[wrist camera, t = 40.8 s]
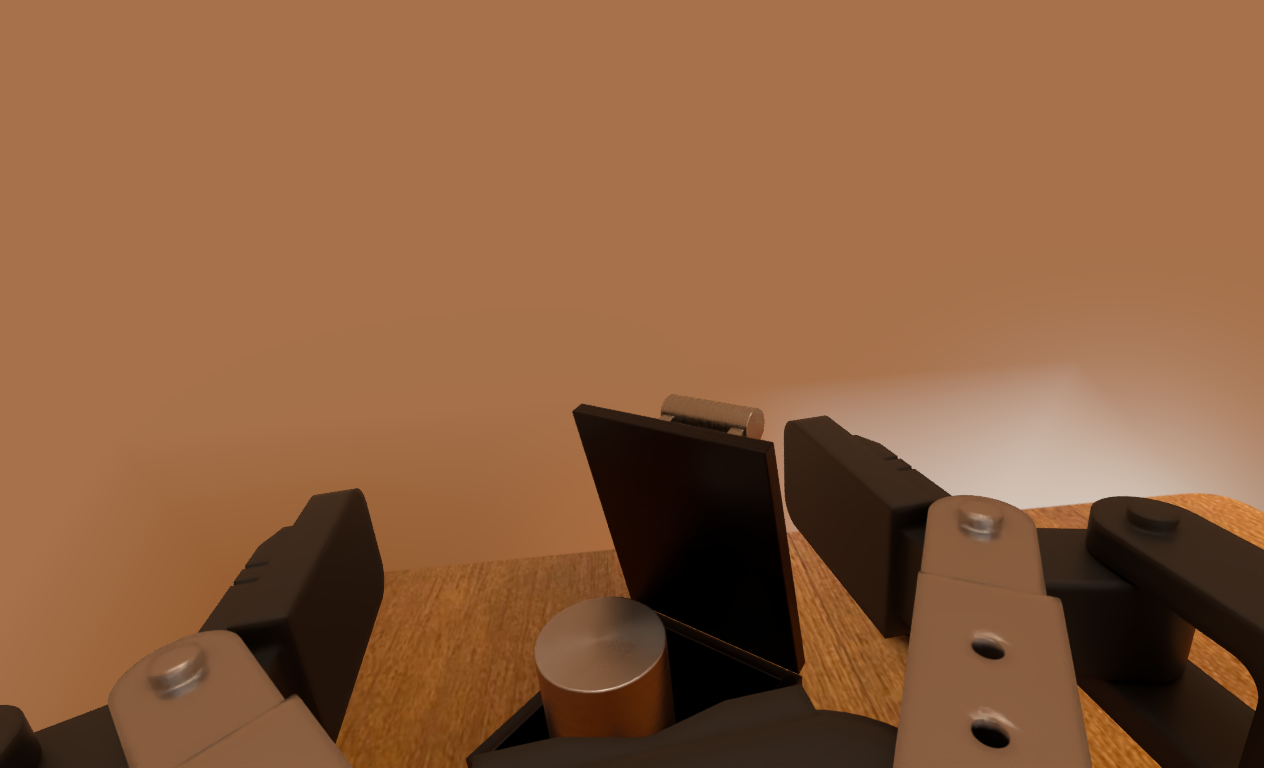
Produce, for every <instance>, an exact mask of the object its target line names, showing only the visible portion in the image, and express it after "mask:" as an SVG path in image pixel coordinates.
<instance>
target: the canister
mask: <svg viewBox="0 0 1264 768" xmlns="http://www.w3.org/2000/svg"><path fill="white" fill-rule="evenodd" d="M534 659H535V664H536V669H537V674H538V680H539V685H540V690H541V695H542V700H543V706H544V711H545V716H546V721H547V727H548V732H549V737H550V739H551V738H555V737H631V738H639V737H647V736H651V735H653V734H656V733H658V732H660V731H662V730H664V729H666V728H669V727H671V726H673V725H675V724H676V722H675V712H674V703H673V693H672V683H671V674H670V664H669V654H668V645H667V635H666V629H665V626H664V624H663V622H662V620H661V618H660V617H659V616H658V615H657V613H656V612H654V611H653V610H652V609H651V608H650V607H648V606H647V605H645V604H643V603H641V602H638V601H636V600H632V599H628V598H623V597H599V598H593V599H588V600H585V601H581V602H579V603H576V604H574V605H571V606H569V607H567V608H566V609H564V610H562V611H561V612H559V613H558V614H556V615H555V616H554V617H553V618H552V619H550V620H549V621H548V623H547V624H546V625H545V626H544V627H543V629H542V630H541V632H540V634H539V636H538V638H537V641H536V643H535V649H534Z"/></svg>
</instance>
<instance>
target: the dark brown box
mask: <svg viewBox="0 0 1264 768" xmlns="http://www.w3.org/2000/svg"><path fill="white" fill-rule="evenodd" d="M654 612H655V611H654ZM656 613H657V612H656ZM657 615H658V616H659V617H660V618H661V620H662V622H663V624H664V626H665V629H666V635H667V645H668V654H669V664H670V674H671V683H672V693H673V703H674V712H675V722H676V724H677V723H679V722H681V721H683V720H685V719H687V718H689V717H692V716H694V715H696V714H698V713H700V712H702V711H704V710H706V709H708V708H710V707H712V706H714V705H717V704H719V703H721V702H723V701H725V700H730V699H734V698H739V697H743V696H748V695H753V694H757V693H762V692H766V691H771V690H776V689H780V688H785V687H789V686H794V685H798V684H801V685H802V676H800V675H798V674H796V673H793V672H791V671H789V670H786V669H784V668H781V667H779V666H777V665H775V664H772V663H770V662H768V661H766V660H763V659H761V658H759V657H757V656H754V655H752V654H750V653H747V652H745V651H743V650H741V649H738V648H736V647H734V646H732V645H729V644H727V643H725V642H723V641H720V640H718V639H716V638H714V637H711V636H709V635H707V634H705V633H702V632H700V631H698V630H696V629H693V628H691V627H689V626H687V625H684V624H682V623H680V622H678V621H675V620H673V619H671V618H669V617H666V616H664V615H662V614H659V613H657ZM546 739H550V737H549V732H548V727H547V721H546V716H545V711H544V706H543V700H542V695H541V690H540V691H539V692H538V693H537V694H536V695H535V696H534V697H533V698H532V699H530V700H529V701H528V702H527V703H526V704H525V705H524V706H523V707H522V708H521V709H520V710H518V711H517V712H516V713H515V714H514V715H513V716H512V717H511V718H510V719H509V720H508V721H506V722H505V723H504V724H503V725H502V726H501V727H500V728H499V729H498V730H497V731H496V732H494V733H493V734H492V735H491V736H490V737H489V738H488V739H487V740H486V741H485V742H484V743H482V744H481V745H480V746H479V747H478V748H477V749H476V750H475V751H474V752H473V753H471V754H470V755H469V756H468V757H467V758H466V762H467V766H468V768H472V762H473V755H477V754H482V753H487V752H491V751H496V750H500V749H505V748H510V747H514V746H519V745H523V744H528V743H532V742H537V741H542V740H546Z"/></svg>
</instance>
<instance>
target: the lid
mask: <svg viewBox="0 0 1264 768" xmlns="http://www.w3.org/2000/svg"><path fill="white" fill-rule="evenodd" d="M572 413H573V416H574V419H575V422H576V425H577V428H578V432H579V435H580V438H581V441H582V445H583V448H584V451H585V454H586V457H587V460H588V464H589V467H590V470H591V473H592V476H593V479H594V483H595V486H596V489H597V492H598V495H599V499H600V502H601V505H602V508H603V511H604V514H605V517H606V521H607V524H608V527H609V530H610V533H611V536H612V540H613V543H614V546H615V549H616V553H617V556H618V559H619V562H620V565H621V568H622V572H623V575H624V578H625V581H626V584H627V587H628V591H629V594H630V597H631V599H632V600H636V601H638V602H641V603H643V604H645V605H647V606H648V607H650V608H651V609H652V610H654V611H656V612H659V613H661V614H663V615H665V616H668V617H670V618H672V619H674V620H677V621H679V622H681V623H684V624H686V625H688V626H690V627H693V628H695V629H697V630H699V631H702V632H704V633H706V634H708V635H711V636H713V637H715V638H717V639H720V640H722V641H724V642H726V643H729V644H731V645H733V646H736V647H738V648H740V649H742V650H745V651H747V652H749V653H751V654H754V655H756V656H758V657H760V658H763V659H765V660H767V661H769V662H772V663H774V664H776V665H778V666H781V667H783V668H785V669H788V670H790V671H792V672H794V673H797V674H799V673H800V671H801V669H802V667H803V666H804V664H805V658H804V651H803V644H802V637H801V630H800V623H799V616H798V609H797V602H796V595H795V588H794V581H793V574H792V567H791V561H790V554H789V547H788V540H787V533H786V526H785V519H784V512H783V505H782V498H781V491H780V484H779V477H778V470H777V463H776V456H775V449H774V443H773V442H769V441H764V440H760V439H761V436H762V433H763V430H764V415H763V412H762V411H761V410H760V409H758V408H752V407H746V406H740V405H735V404H729V403H722V402H716V401H711V400H705V399H699V398H693V397H687V396H681V395H675V394H672V395H669V396H668V397H667V398H666V399H665V401H664V403H663V405H662V409H661V417H660V418H659V419H656V418H651V417H646V416H641V415H636V414H631V413H626V412H621V411H616V410H611V409H606V408H601V407H596V406H591V405H586V404H581V405H579V406H578V407H577V408H576V409H574V410H573V412H572Z"/></svg>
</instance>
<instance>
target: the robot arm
mask: <svg viewBox="0 0 1264 768" xmlns="http://www.w3.org/2000/svg"><path fill="white" fill-rule="evenodd" d="M784 481H785V482H784V486H785V501H786V506H787V509H788V513H789V515H790V518H791V520H792V522H793V524H794V525H795V526H796V528H797V529H798V530H799V531H800V533H801V534H802V535H803V536H804V538H805V539H806V540H807V541H808V543H809V544H810V545H811V546H812V548H813V549H814V550H815V551H816V553H817V554H818V555H819V556H820V558H821V559H822V560H823V561H824V563H825V564H826V565H827V566H828V568H829V569H830V570H831V571H832V573H833V574H834V575H835V576H836V578H837V579H838V580H839V581H840V583H841V584H842V585H843V586H844V588H845V589H846V590H847V591H848V593H849V594H850V595H851V596H852V598H853V599H854V600H855V601H856V603H857V604H858V605H859V606H860V608H861V609H862V610H863V611H864V613H865V614H866V615H867V616H868V618H869V619H870V620H871V621H872V623H873V624H874V625H875V626H876V628H877V629H878V630H879V631H880V633H881V634H882V635H883V636H884V638H885V639H886V638H891V637H895V636H900V635H905V634H910V641H909V648H908V656H907V664H906V671H905V679H904V687H903V694H902V702H901V710H900V718H899V725H898V728H896V727H894V726H892V725H889V724H887V723H884V722H881V721H878V720H875V719H872V718H868V717H865V716H861V715H856V714H851V713H847V712H839V711H831V710H815V708H814V706H813V704H812V702H811V701H810V699H809V697H808V695H807V694H806V692H805V690H804V688H803V686H802V685H801V684H798V685H794V686H789V687H785V688H780V689H776V690H771V691H766V692H762V693H757V694H753V695H748V696H743V697H739V698H734V699H730V700H725V701H723V702H721V703H719V704H717V705H714V706H712V707H710V708H708V709H706V710H704V711H702V712H700V713H698V714H696V715H694V716H692V717H689V718H687V719H685V720H683V721H681V722H679V723H677V724H675V725H673V726H671V727H669V728H666V729H664V730H662V731H660V732H658V733H656V734H653V735H651V736H647V737H639V738H631V737H555V738H551V739H546V740H542V741H537V742H532V743H528V744H523V745H519V746H514V747H510V748H505V749H500V750H496V751H491V752H487V753H482V754H477V755H473V762H472V768H1092V763H1091V757H1090V752H1089V747H1088V741H1087V736H1086V730H1085V725H1084V720H1083V714H1082V709H1081V703H1080V698H1079V693H1078V687H1077V685H1078V686H1079V687H1080V688H1081V689H1082V690H1083V691H1084V692H1085V693H1086V694H1087V695H1088V696H1089V697H1090V698H1092V699H1093V700H1094V701H1095V702H1096V703H1097V704H1098V705H1099V706H1100V707H1101V708H1102V709H1103V710H1104V711H1105V712H1106V713H1107V714H1108V715H1109V716H1110V717H1111V718H1112V719H1113V720H1114V721H1115V722H1116V723H1117V724H1118V725H1119V726H1120V727H1121V728H1122V729H1123V730H1124V731H1125V732H1126V733H1127V734H1128V735H1129V736H1130V737H1131V738H1132V739H1133V740H1134V741H1135V742H1136V743H1137V744H1138V745H1139V746H1140V747H1141V748H1142V749H1143V750H1145V751H1146V752H1147V753H1148V754H1149V755H1150V756H1151V757H1152V758H1153V759H1154V760H1155V761H1156V762H1157V763H1158V764H1159V765H1160V766H1161V767H1162V768H1264V550H1263V549H1261V548H1259V547H1257V546H1255V545H1254V544H1252V543H1250V542H1248V541H1246V540H1244V539H1242V538H1240V537H1238V536H1237V535H1235V534H1233V533H1231V532H1229V531H1227V530H1225V529H1223V528H1222V527H1220V526H1218V525H1216V524H1214V523H1212V522H1210V521H1208V520H1206V519H1205V518H1203V517H1201V516H1199V515H1197V514H1195V513H1193V512H1191V511H1189V510H1186V509H1184V508H1181V507H1179V506H1176V505H1172V504H1169V503H1166V502H1162V501H1158V500H1153V499H1148V498H1140V497H1128V496H1117V497H1108V498H1104V499H1101V500H1098V501H1096V502H1095V503H1093V505H1092V506H1091V510H1090V516H1089V521H1088V527H1087V529H1058V528H1036V526H1035V523H1034V521H1033V520H1032V519H1031V518H1030V517H1029V516H1028V515H1027V514H1026V513H1025V512H1023V511H1022V510H1020V509H1018V508H1016V507H1015V506H1012V505H1010V504H1008V503H1005V502H1002V501H999V500H996V499H991V498H987V497H981V496H972V495H958V496H951V495H950V494H949V493H947V492H946V491H944V490H943V489H942V488H940V487H939V486H938V485H936V484H935V483H934V482H932V481H931V480H929V479H928V478H927V477H925V476H924V475H923V474H921V473H920V472H918V471H917V470H916V469H912V468H911V466H910V465H909V464H907V463H906V462H905V461H903V460H902V459H898V457H897V456H896V455H895V454H894V453H892V452H891V451H889V450H888V449H887V448H886V447H884V446H883V445H881V444H880V443H877V442H874V441H871V440H869V439H866V438H863V437H861V436H858V435H851V434H850V433H849V432H848V431H846V430H845V429H844V428H842V427H841V426H840V425H838V424H837V423H836V422H834V421H833V420H832V419H831V418H829V417H828V416H819V417H812V418H807V419H800V420H793V421H789V422H787V424H786V426H785V430H784ZM383 593H384V571H383V564H382V560H381V556H380V553H379V549H378V545H377V541H376V537H375V533H374V530H373V526H372V522H371V518H370V514H369V511H368V507H367V503H366V500H365V497H364V495H363V493H362V491H361V490H360V489H358V488H356V489H350V490H343V491H337V492H331V493H325V494H318V495H314V496H312V497H311V499H310V500H309V502H308V503H307V505H306V506H305V508H304V509H303V511H302V512H301V514H300V515H299V517H298V519H297V520H296V522H295V523H294V525H293V526H289V527H284V528H282V529H281V530H280V531H278V532H277V533H276V534H274V535H273V536H272V537H270V538H269V539H268V540H266V541H265V542H264V543H262V544H261V545H260V546H259V547H258V548H257V550H256V551H255V553H254V554H253V555H252V557H251V558H250V560H249V561H248V562H247V564H246V565H245V569H243V570H242V571H241V572H240V574H239V575H238V577H237V578H236V579H235V581H234V586H231V587H230V588H229V589H228V591H227V592H226V594H225V595H224V596H223V598H222V599H221V601H220V602H219V604H218V605H217V606H216V608H215V609H214V611H213V612H212V613H211V615H210V616H209V618H208V619H207V621H206V622H205V623H204V625H203V626H202V628H201V629H200V630H199V632H198V633H197V634H193V635H189V636H186V637H183V638H181V639H178V640H176V641H173V642H171V643H169V644H167V645H165V646H163V647H161V648H159V649H157V650H155V651H154V652H152V653H151V654H149V655H147V656H146V657H144V658H143V659H141V660H140V661H139V662H137V663H136V664H134V665H133V666H132V667H131V668H130V669H129V670H127V671H126V672H125V673H124V674H123V676H121V678H120V679H119V680H118V681H117V682H116V684H115V685H114V686H113V688H112V690H111V692H110V694H109V698H108V705H106V706H103V707H101V708H98V709H95V710H93V711H90V712H87V713H85V714H82V715H80V716H77V717H74V718H72V719H69V720H66V721H64V722H61V723H58V724H56V725H53V726H50V727H48V728H45V729H42V730H40V731H37V732H33V730H32V729H31V727H30V725H29V723H28V721H27V719H26V717H25V715H24V714H23V712H22V711H21V710H20V709H19V708H17V707H15V706H10V705H0V768H353V767H352V766H351V765H350V763H349V762H348V761H347V759H346V758H345V757H344V755H343V754H342V753H341V751H340V750H339V749H338V747H337V746H336V745H335V744H336V741H337V737H338V734H339V731H340V728H341V725H342V722H343V719H344V716H345V713H346V710H347V707H348V703H349V700H350V697H351V694H352V691H353V688H354V685H355V682H356V679H357V676H358V672H359V669H360V666H361V663H362V660H363V657H364V654H365V651H366V648H367V645H368V642H369V638H370V635H371V632H372V629H373V626H374V623H375V620H376V617H377V614H378V611H379V608H380V604H381V601H382V598H383ZM1195 628H1196V629H1198V630H1199V631H1200V632H1202V633H1203V634H1205V635H1206V636H1207V637H1209V638H1210V639H1212V640H1213V641H1214V642H1216V643H1217V644H1219V645H1220V646H1221V647H1223V648H1224V649H1226V650H1227V651H1228V652H1230V653H1231V654H1233V655H1234V656H1235V657H1236V658H1237V659H1238V660H1239V661H1241V662H1242V664H1243V665H1244V666H1245V667H1246V668H1247V670H1248V671H1249V673H1250V674H1251V676H1252V678H1253V680H1254V681H1255V684H1256V687H1257V691H1258V704H1257V707H1256V711H1254V710H1253V709H1252V708H1250V707H1249V706H1248V705H1246V704H1245V703H1244V702H1243V701H1241V700H1240V699H1239V698H1237V697H1236V696H1235V695H1233V694H1232V693H1231V692H1230V691H1228V690H1227V689H1226V688H1224V687H1223V686H1222V685H1220V684H1219V683H1218V682H1217V681H1215V680H1214V679H1213V678H1211V677H1210V676H1209V675H1207V674H1206V673H1205V672H1204V671H1202V670H1201V669H1200V668H1198V667H1197V666H1196V665H1194V664H1193V663H1192V662H1191V661H1189V660H1188V656H1189V652H1190V648H1191V644H1192V640H1193V636H1194V632H1195Z"/></svg>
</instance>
